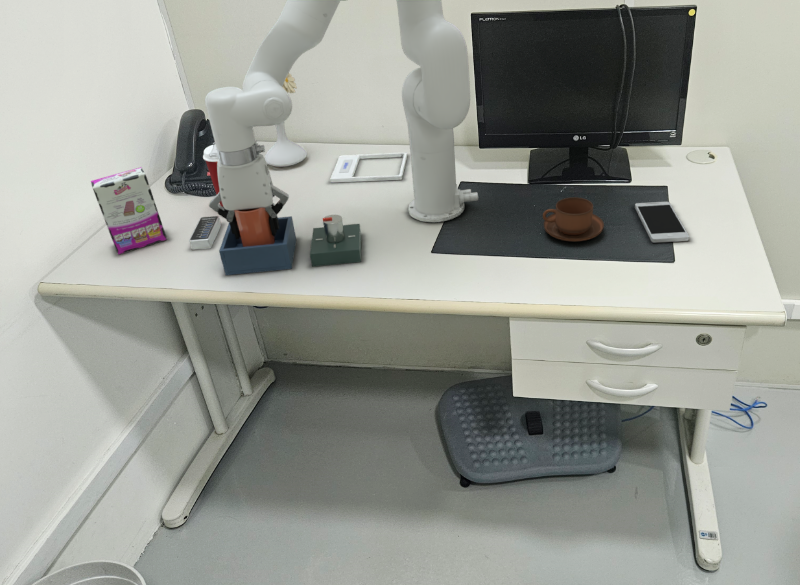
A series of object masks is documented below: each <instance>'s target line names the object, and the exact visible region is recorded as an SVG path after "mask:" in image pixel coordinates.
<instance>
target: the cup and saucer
mask: <svg viewBox="0 0 800 585" xmlns="http://www.w3.org/2000/svg"><path fill="white" fill-rule="evenodd" d="M549 213H552V214H550V215H548V216H547V214H549ZM542 220H544V221H543V228H544V231H545V232H546V233H547V234H549V235H550V236H551V237H553V238H555V239H556V240H560V241H564V242H569V243H570V242H574V243H575V242H584V241H589V240H592V239H594V238H596V237H598V236H599V235H600V234H601V233H602V232H603V230H604V227H605V223H604V221H603V219H602V218H600V217H599V216H598V215H596V214H594V204H593V202H592V201H591V200H588V199H587V198H583V197H565V198H562V199H560V200H558V201H557V202H556V204H555V209H554V208H548V209H546V210H545V211H544V212H543V213H542Z"/></svg>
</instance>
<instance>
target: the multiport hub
mask: <svg viewBox="0 0 800 585" xmlns="http://www.w3.org/2000/svg"><path fill="white" fill-rule="evenodd" d="M221 227H222V222H221V219H220V215H212V216H201V217H200V218H199V220H198V222H197V224H196V226H195V228H194V229H193V231H192V233H191V236H190V237H189V240H188V241H189V245H190V249H191V250H193V251H195V250H196V251H197V250H207V249H211V248H213V245H214V243H215V241H216V239H217V236H218V234H219V231H220V230H221Z"/></svg>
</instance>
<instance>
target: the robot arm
mask: <svg viewBox="0 0 800 585" xmlns="http://www.w3.org/2000/svg"><path fill="white" fill-rule="evenodd" d="M345 1H347V0H286V2H285V4H284V5H283V7H282V10H281V13H280V15H279V16H278V18H277V20H276V22H275V23H274V24H273V25H272V27H271V29H270V30H269V31H268V33H267V34H266V36H265V37H264V39H263V40H262V41H261V43H260V45H258V48H257V50H256V52H255V53H254V56H253V58H252V60H251V62H250V65H249V67H248V69H247V72H246V74H245V76H244V79H243V82H242V86H241V87H242V88H240V87H237V86H224V87H218V88H215V89H212V90H210V91H209V92H208V93H207V94H206V96H205V100H204V104H205V108H206V112H207V116H208V120H209V124H210V128H211V132H212V136H213V140H214V144H216V148H217V153H218V157H219V160H218V162H217V173H218V182H219V189H220V192H219V193H218V194H216V195H215V196H214V197H213V198H212V199H211V200H210V202H209V205H208V207H209V208H210V209H211V210H213V211H214V212H216V213H217V214H218V216H219V217H222V218H223V219H225V220H226V222H227V223H228V224H229V223H230V227H231V231H232V234H235V238H236V239H239V238H240V235H239V231H238V227H237V223H236V219H235V215H234V214H235V213H234V210H246V209H256V208H261V207H264V208H265V210H266V211H267V213H268V214H269V215H270V217H269V223H270V228H271V232H272V235H273V236H275V235H276V232H277V230H278V229H279V222H278V218H279V217H278V215H279V213H280V212H281V211H282V210H283V208H284V206H286V204H287V202H288V201H289V198H290V194H288V193H287V192H285V191H283V190H282V189H280V188H279V187H278V186H275V185H274V182H273V179H272V176H271V173H270V169H269V166H268V163H267V162H266V161H265V156H264V155H263V154H262V153H265V152H266V147H265V145H264V144H262V145H261V144H259V142H258V141H257V140H256V136H255V132H254V127H272V126H273V127H274V126H275V125H278V124H280V123H282V122H284V123H285V121H287V120H288V119H289V118H290V116H291V115H292V112H293V102H292V99H291V97H290V94H289V92H288V93H287V92H286V90H284V89H283V87H282V86H283V84H284V81H285V79H286V77H287V75H288V73H289V74H290V71H291V69H292V67H293V66H294V64H295V63H296V62H297V60H298V59H299V58H300V57H301V56H302V55H303V54H305V53H306V52H308V51H311V50H312V49H314V48H315V47H317V46H318V45H319V44H320V43H321V42H322V41H323V38H324V37H325V34H326V33H327V30H328V28H329V26H330V24H331V21H332V19H333V17H334V15H335V13H336V11H337V8H338V7H339V5H340V3H341V2H345ZM396 5H397V6H396V7H397V16H398V25H399V37H400V45H401V49H402V51H403V54H404V55H405V56H406V58H407V59H408V60H410V61H411V62H412V63H414V64H416V65H417V66H418V67H417V68H415V69H413V70H412V71H410V72H409V73H408V75H407V76H406V77H405V79H404V80H403V84H402V88H401V102H402V105H403V111H404V115H405V120H406V124H407V131H408V140H409V155H410V156H409V157H410V165H411V177H412V187H413V200H412V201H410V202H409V204H408V207H407V209H408V215H409V216H410V217H412V218H413V219H415V220H417V221H419V222H426V223H441V222H446V221H450V220H453V219H455V218H458V217H459V216H461V214H462V213H463V212H464V211H465V203H466V202H478V201H479V194H478V192H477V191H475V192H472V189H470V188H467V189H460V188H458V184H457V173H456V155H455V153H456V152H455V133H454V129H455V128H457V127H458V126H460V125H461V124H462V123H463V122H464V121H465V119H466V117H467V116H468V113H469V110H470V106H471V84H470V83H471V82H470V65H469V52H468V47H467V43H466V40H465V36H464V35H463V33H462V31H461V29H459V28H458V26H456V25H455V24H454V23H452V22H450V21H448V20H446V18H445V16H444V10H443V2H442V0H396ZM274 197H276V198H278V199H279V200H278V201H277V202H276V204H275V203H274V200H273V198H274ZM221 200H222V204H223V206H221V205H220V203H219V202H220V201H221Z"/></svg>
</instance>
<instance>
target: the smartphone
mask: <svg viewBox="0 0 800 585" xmlns="http://www.w3.org/2000/svg"><path fill="white" fill-rule="evenodd" d="M634 209H635V211H636V213H637V215H638V218H639V219H640V221H641V224H642V225H643V227H644V229H645V231H646V233H647V236H648V237H649V240H650V242H651V243H672V242H688V241H689V240H690V235H689V233H688V232H687V230H686V228H685V227H684V224H683V223H682V221H681V219H680V218H679V215H678V214H677V213H676V211H675V209H674V207H673V206H672V203H670V201H656V202H636V203H635V204H634Z"/></svg>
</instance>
